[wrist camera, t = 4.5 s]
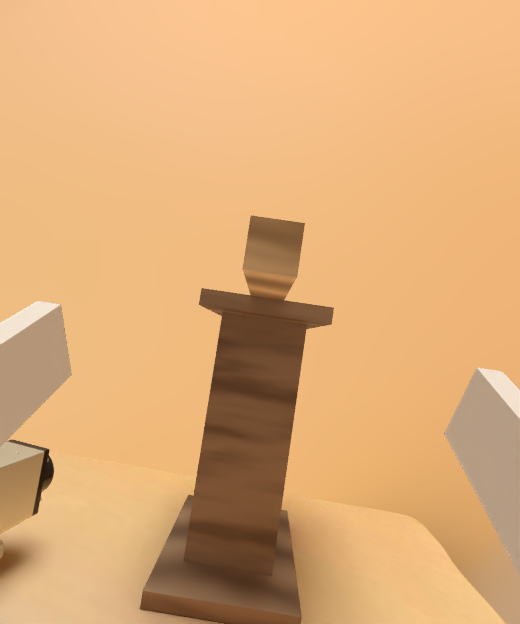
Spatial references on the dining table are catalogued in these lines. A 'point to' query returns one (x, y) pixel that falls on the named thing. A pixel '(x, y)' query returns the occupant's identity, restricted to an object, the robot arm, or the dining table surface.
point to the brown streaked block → (272, 256)
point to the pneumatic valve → (22, 482)
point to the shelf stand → (241, 473)
